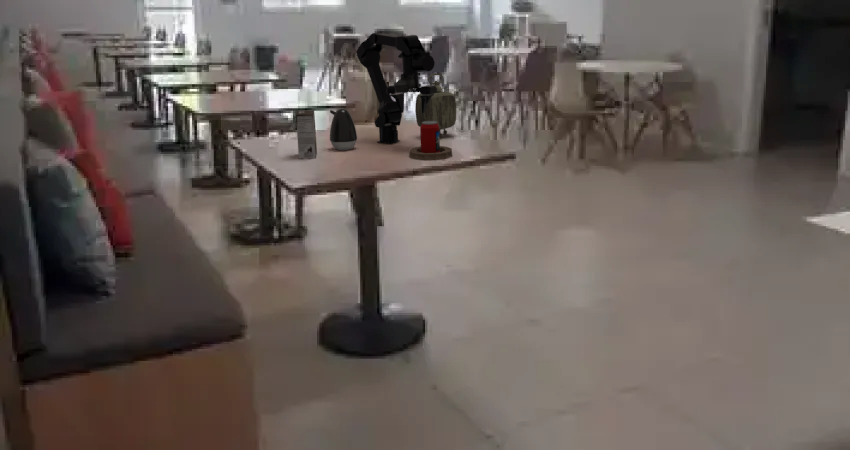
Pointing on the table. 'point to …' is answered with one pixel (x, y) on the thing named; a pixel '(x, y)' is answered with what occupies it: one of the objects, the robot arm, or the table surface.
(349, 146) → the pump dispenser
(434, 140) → the beverage can
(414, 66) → the robot arm
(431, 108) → the tabletop clock
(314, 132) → the coffee box
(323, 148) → the table surface
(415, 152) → the walnut ring
